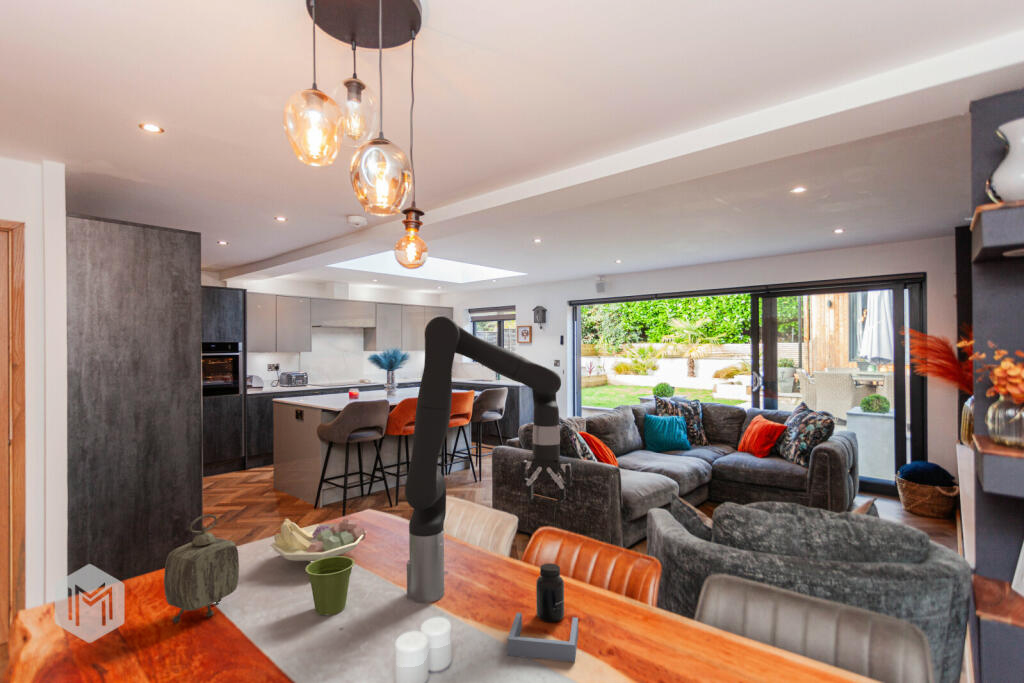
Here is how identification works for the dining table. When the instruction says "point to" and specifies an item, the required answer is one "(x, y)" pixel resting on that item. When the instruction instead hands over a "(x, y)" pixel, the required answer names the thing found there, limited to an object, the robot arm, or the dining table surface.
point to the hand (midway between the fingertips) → (546, 500)
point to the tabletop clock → (201, 571)
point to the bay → (542, 644)
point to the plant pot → (330, 583)
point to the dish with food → (317, 540)
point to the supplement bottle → (550, 593)
